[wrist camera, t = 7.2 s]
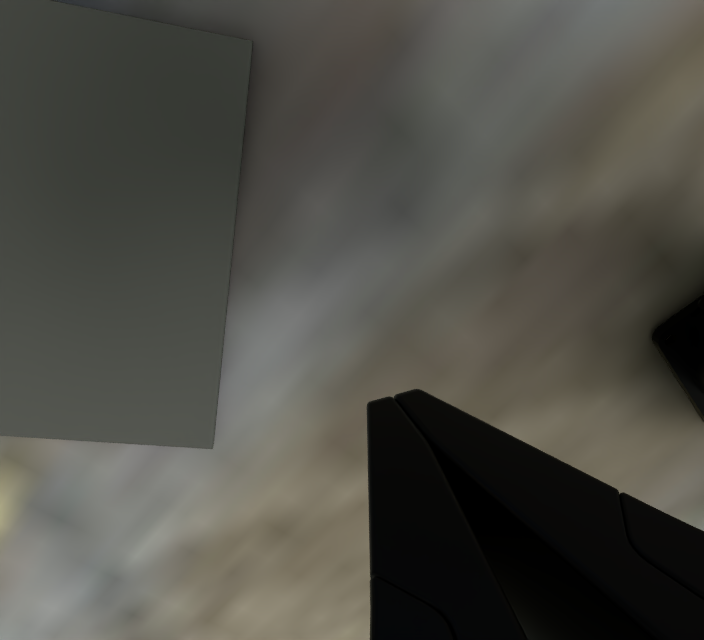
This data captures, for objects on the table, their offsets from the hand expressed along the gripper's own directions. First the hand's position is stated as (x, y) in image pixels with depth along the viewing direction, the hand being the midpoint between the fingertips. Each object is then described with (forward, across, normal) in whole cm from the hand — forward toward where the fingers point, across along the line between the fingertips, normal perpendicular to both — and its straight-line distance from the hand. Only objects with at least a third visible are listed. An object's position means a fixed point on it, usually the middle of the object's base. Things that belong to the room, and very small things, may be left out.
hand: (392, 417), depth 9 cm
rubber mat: (+12, +8, 0) cm, 15 cm away
